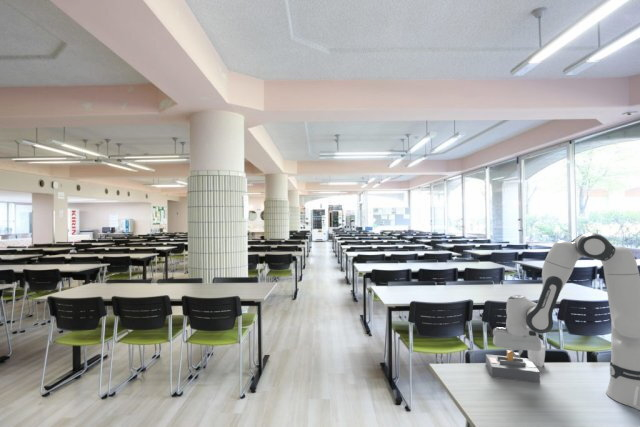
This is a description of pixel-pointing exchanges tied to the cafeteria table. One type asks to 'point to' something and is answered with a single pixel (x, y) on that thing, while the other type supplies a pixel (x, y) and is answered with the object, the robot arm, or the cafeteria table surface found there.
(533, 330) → the robot arm
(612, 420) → the cafeteria table surface
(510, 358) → the breaker toggle
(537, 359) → the white cup
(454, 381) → the cafeteria table surface
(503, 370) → the breaker box
